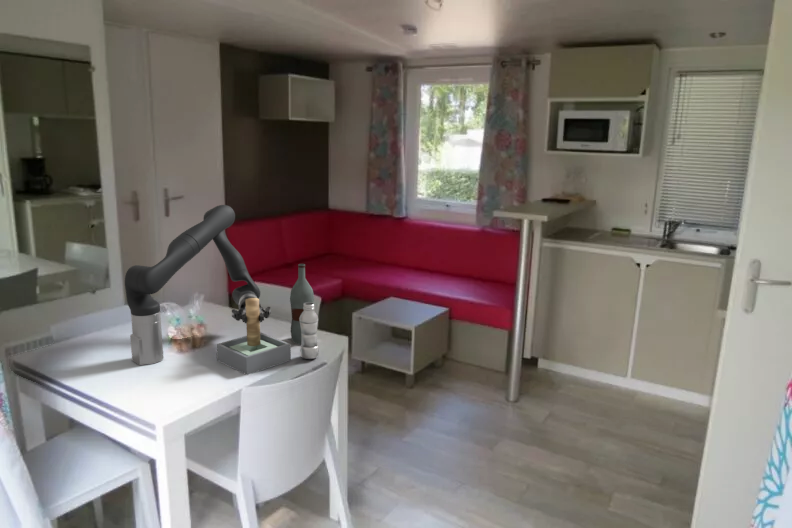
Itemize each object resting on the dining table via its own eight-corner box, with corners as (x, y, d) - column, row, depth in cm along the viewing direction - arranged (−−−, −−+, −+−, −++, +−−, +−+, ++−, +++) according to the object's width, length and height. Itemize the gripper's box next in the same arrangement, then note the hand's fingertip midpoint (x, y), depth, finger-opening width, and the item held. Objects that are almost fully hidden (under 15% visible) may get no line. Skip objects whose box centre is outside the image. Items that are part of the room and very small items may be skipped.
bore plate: (249, 367, 190) (249, 355, 189) (229, 357, 197) (228, 346, 197) (278, 357, 199) (278, 346, 198) (258, 348, 206) (257, 338, 205)
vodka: (297, 335, 225) (295, 261, 218) (318, 337, 222) (317, 263, 216) (286, 342, 216) (284, 266, 210) (308, 345, 214) (307, 268, 207)
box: (247, 374, 186) (246, 357, 185) (217, 360, 197) (216, 344, 196) (290, 360, 199) (290, 344, 198) (260, 347, 211) (259, 332, 209)
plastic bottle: (315, 362, 198) (315, 307, 194) (297, 360, 199) (296, 305, 195) (321, 355, 204) (321, 302, 200) (303, 353, 205) (303, 300, 201)
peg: (252, 347, 194) (250, 302, 191) (244, 343, 197) (242, 299, 193) (263, 343, 197) (261, 299, 194) (255, 340, 200) (253, 297, 197)
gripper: (228, 297, 205) (231, 311, 189) (269, 294, 210) (274, 307, 194) (229, 317, 207) (232, 332, 191) (269, 313, 211) (275, 328, 196)
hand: (253, 319), depth 193 cm, fingers closed on peg, 4 cm apart
